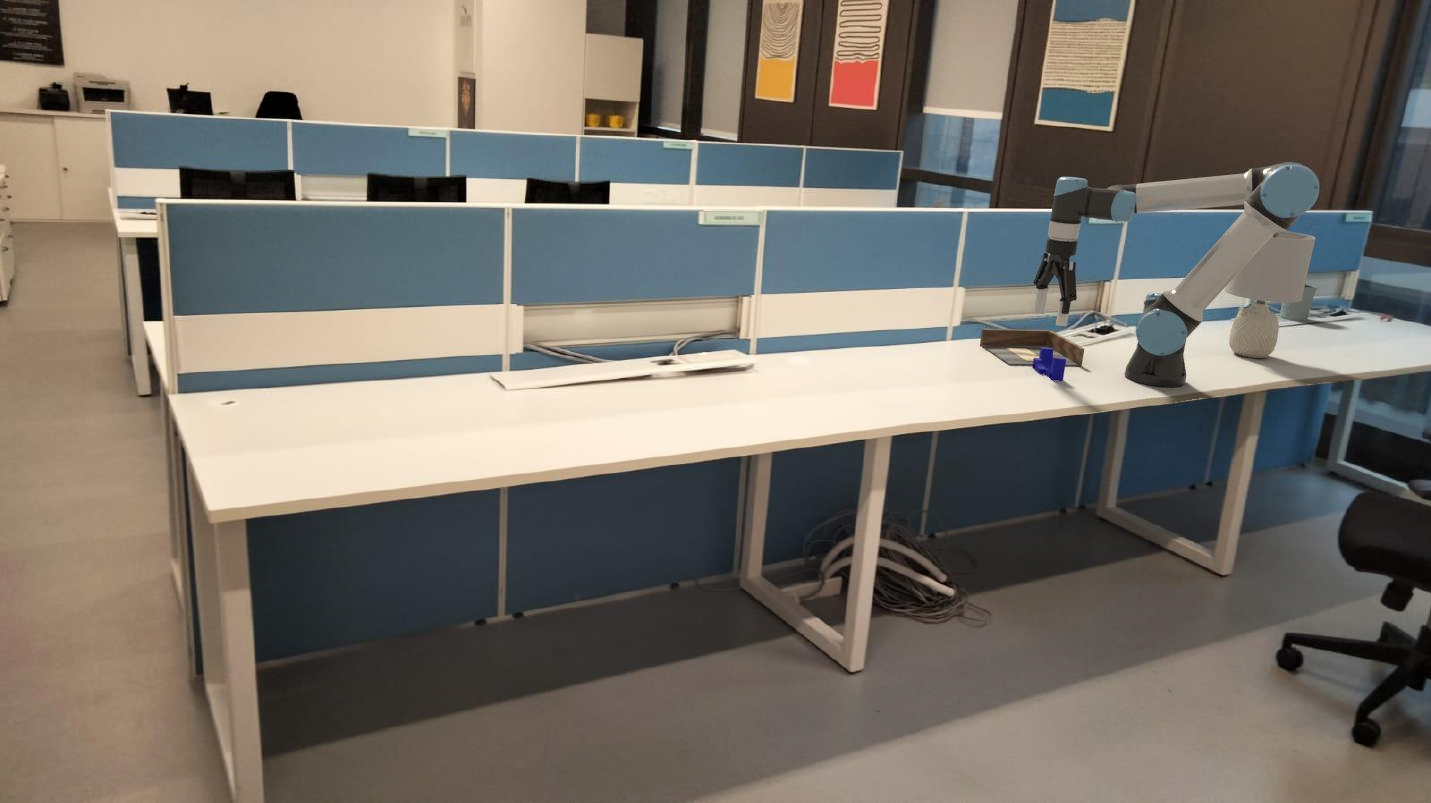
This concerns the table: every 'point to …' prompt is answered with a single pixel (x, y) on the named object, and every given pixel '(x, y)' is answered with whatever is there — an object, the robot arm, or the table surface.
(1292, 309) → the grey tapered pot
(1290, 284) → the lamp
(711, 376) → the table surface
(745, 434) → the table surface
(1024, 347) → the corner arena
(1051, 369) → the blue u-shaped bracket
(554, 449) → the table surface
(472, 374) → the table surface
